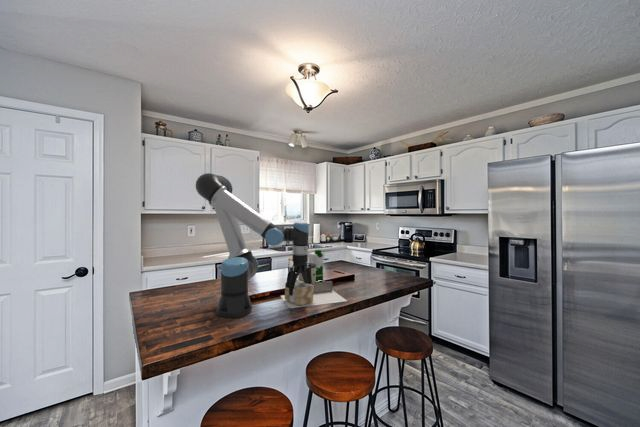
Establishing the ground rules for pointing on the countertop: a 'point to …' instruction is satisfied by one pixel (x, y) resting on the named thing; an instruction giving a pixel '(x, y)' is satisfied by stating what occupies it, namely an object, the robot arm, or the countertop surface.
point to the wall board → (318, 299)
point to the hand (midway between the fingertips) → (298, 299)
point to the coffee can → (313, 273)
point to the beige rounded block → (301, 293)
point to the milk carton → (317, 263)
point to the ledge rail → (322, 286)
